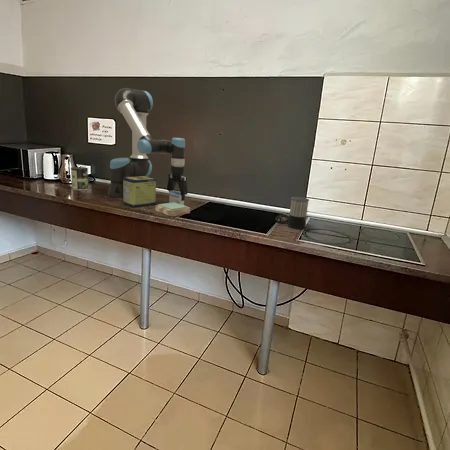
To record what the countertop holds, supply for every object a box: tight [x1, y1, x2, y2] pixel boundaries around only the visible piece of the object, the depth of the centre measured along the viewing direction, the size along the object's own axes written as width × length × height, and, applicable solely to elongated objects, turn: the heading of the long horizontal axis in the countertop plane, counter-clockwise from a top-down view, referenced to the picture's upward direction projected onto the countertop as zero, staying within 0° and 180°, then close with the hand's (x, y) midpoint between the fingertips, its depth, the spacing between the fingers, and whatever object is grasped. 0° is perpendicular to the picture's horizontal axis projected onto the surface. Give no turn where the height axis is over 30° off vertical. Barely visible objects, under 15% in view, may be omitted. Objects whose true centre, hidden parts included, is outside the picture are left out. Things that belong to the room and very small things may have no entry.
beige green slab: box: [154, 204, 191, 217], centre depth 181 cm, size 14×13×3 cm
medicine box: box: [168, 189, 181, 204], centre depth 195 cm, size 8×4×9 cm, turn 62°
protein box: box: [123, 176, 157, 208], centre depth 191 cm, size 10×16×16 cm
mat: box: [157, 202, 189, 210], centre depth 181 cm, size 12×11×1 cm
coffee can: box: [70, 166, 90, 191], centre depth 220 cm, size 10×10×14 cm
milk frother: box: [275, 196, 310, 230], centre depth 172 cm, size 14×16×15 cm
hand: (176, 204), depth 196 cm, fingers closed on medicine box, 9 cm apart
